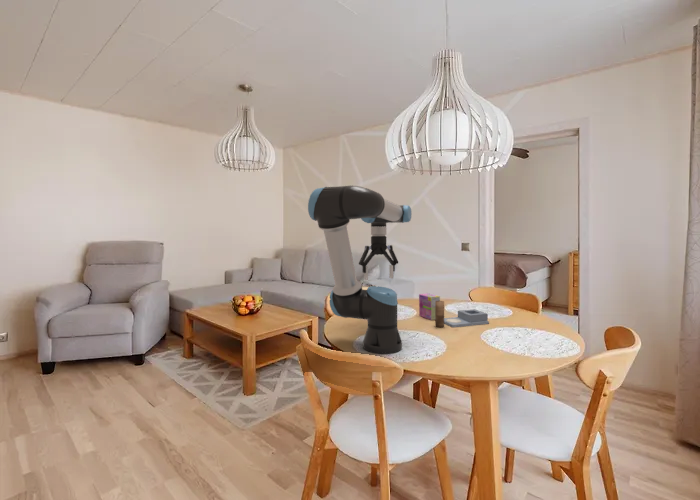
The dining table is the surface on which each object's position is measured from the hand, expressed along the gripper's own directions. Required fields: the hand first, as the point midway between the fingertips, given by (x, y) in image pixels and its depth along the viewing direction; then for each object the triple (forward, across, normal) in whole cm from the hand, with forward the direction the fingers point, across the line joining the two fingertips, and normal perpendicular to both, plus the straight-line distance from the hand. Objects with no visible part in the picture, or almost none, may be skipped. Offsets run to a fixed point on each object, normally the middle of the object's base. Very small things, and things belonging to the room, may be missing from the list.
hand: (378, 278), depth 171 cm
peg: (+22, -24, +17) cm, 36 cm away
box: (+22, -29, 0) cm, 36 cm away
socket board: (+22, -39, +15) cm, 47 cm away
